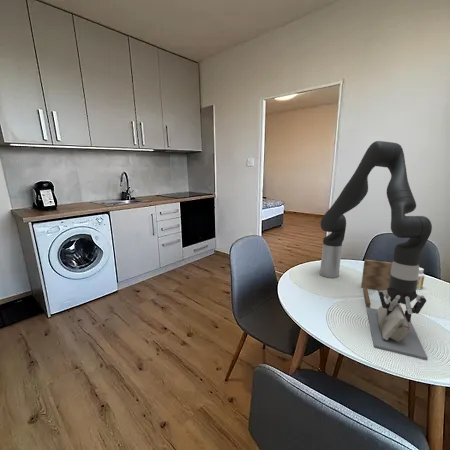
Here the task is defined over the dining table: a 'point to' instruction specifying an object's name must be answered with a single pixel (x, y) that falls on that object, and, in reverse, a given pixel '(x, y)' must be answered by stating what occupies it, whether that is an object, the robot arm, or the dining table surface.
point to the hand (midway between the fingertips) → (397, 320)
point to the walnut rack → (375, 277)
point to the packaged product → (393, 322)
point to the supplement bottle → (420, 279)
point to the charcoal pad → (405, 346)
